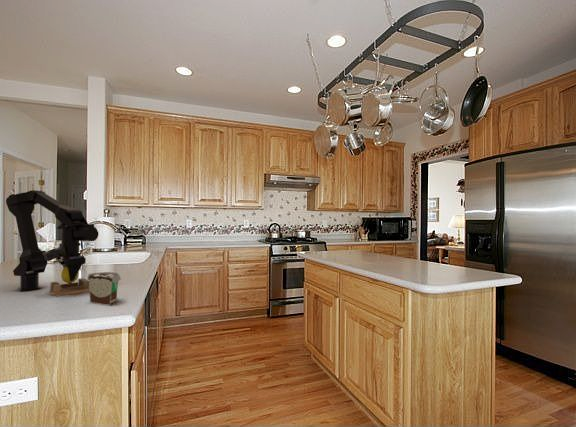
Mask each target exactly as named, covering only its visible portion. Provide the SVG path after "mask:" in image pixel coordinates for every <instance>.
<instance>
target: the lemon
mask: <svg viewBox="0 0 576 427" xmlns="http://www.w3.org/2000/svg"><path fill="white" fill-rule="evenodd" d="M79 272H80V271H78V273H77V275H76V277H75V279H74V280H73V281H70V278H69V273H68V268H67V267H64V268H63V269H62V271H61V280H62V281H63V282H65V283H66V284H71V283H75V282H76V281H77V279H79Z"/></svg>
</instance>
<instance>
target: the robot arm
mask: <svg viewBox="0 0 576 427" xmlns="http://www.w3.org/2000/svg"><path fill="white" fill-rule="evenodd" d="M5 204H6V206H7V209H8V211H9V212H10V213H11V214H12V215H13V216H14V217H15V220H16V226H17V230H18V233H19V234H18V235H19V240H20V243H21V248H22V252H21V253H20V256H19V257H18V258H19V263H18V264H17V266H16V267H15V268H14V269H13V270H12V273H13V276H15V277H20V278H19V279H20V281H19V283H20V284H19V285H20V286H19V287H17V289H18V291H19V292H26V291H27V292H28V291H33V290H34V291H35V290H41V289H42V287H41V286H40V285H39V284H40V283H39V278H40V277H39V274H41V273H45V272H46V271H45V270H46V268H47V265H48V262H50V261H53V260H55V261H57V263H59V264H60V265H61V266H62V267H63V268H64V267H67V268H68V273H69V278H70V281H73V280H74V279H75V277H76V275H77V273H78V272H80V269H81V268H82V266H83V265H84V264H86V260H87V258H86V257H85V256H84V255H81V252H80V246H81V244H82V243H81V242H95V241H96V240H97V239H98V238H99V231H98V229H97V228H96V227H95V224H94V223H89V222H88V221H87V219H86V217H84V215H83V212H82V211H81V210H80V209H78V208H75V207H71V206H68V205H65V204H63V203H61V202H60V201H58V200H57V199H55V198H54V197H52V196H50V195H48V194H47V193H46V192H45V191H43V190H35V189H33V190H29V191H25V192H21V193H15V194H10V195H9V196H8V197H6V200H5ZM35 205H40V206H41V207H43V208H45V209H46V210H47V211H49V212H51V213H52V214H54V217H55V219H56V220H58V221H59V222H60V223H61V224H60V225H59V226H57V230H61V242H60V243H59V245H58V246H57V247H56V248H52V249H49V250H47V251H46V250H42V249H40V248H39V244H38V240H37V239H38V238H37V235H36V230H35V226H34V225H35V224H34V221H33V217H32V216H33V215H32V214H33V212H34V210H35Z"/></svg>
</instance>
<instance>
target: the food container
mask: <svg viewBox="0 0 576 427" xmlns="http://www.w3.org/2000/svg"><path fill="white" fill-rule="evenodd" d="M86 280H88V281H89V291H88V292H89V303H90V304H98V305H104V306H113V305H114V304H116V303H117V296H118V287H119V281H120V280H121V275H120V274H119V273H118V272H111V271H107V272H106V271H104V272H103V271H102V272H93V273H92V272H91V273H88V276H87V279H86Z"/></svg>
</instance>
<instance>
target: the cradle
mask: <svg viewBox="0 0 576 427" xmlns="http://www.w3.org/2000/svg"><path fill="white" fill-rule="evenodd" d="M77 279H78V282H76V281H75V282H72V283H71V284H68V283H63V284H61V283H59V282H58V281H50V289H49V293H50V294H51V295H52V296H53V297H61V296H68V295H73V294H75V295H76V294H80V293H86V292H89V280H87V279H86V278H84V277H82V278H77Z"/></svg>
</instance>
